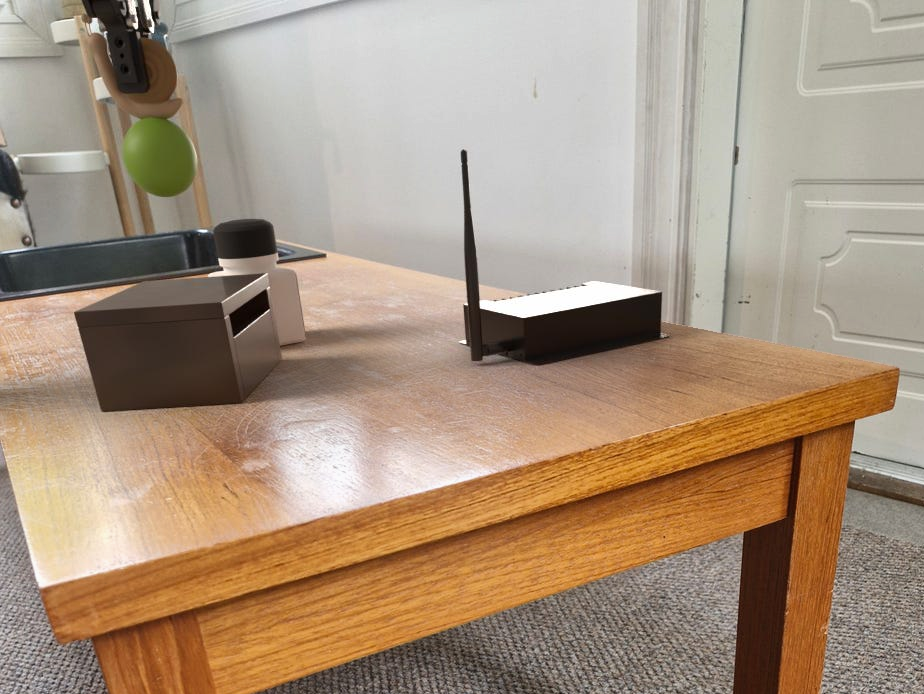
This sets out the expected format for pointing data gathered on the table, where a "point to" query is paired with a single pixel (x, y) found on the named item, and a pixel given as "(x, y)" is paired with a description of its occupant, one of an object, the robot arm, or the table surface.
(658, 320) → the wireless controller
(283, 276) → the medicine bottle
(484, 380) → the table surface
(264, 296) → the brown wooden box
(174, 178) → the snail figurine
